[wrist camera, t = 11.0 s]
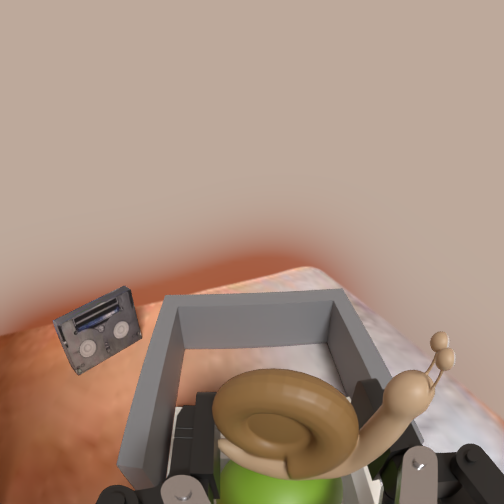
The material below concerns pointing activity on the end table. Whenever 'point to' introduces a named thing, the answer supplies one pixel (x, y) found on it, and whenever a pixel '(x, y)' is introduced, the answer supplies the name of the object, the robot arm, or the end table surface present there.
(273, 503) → the snail figurine
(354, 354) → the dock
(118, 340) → the mini dv tape
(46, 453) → the end table surface
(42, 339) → the end table surface
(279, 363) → the end table surface
